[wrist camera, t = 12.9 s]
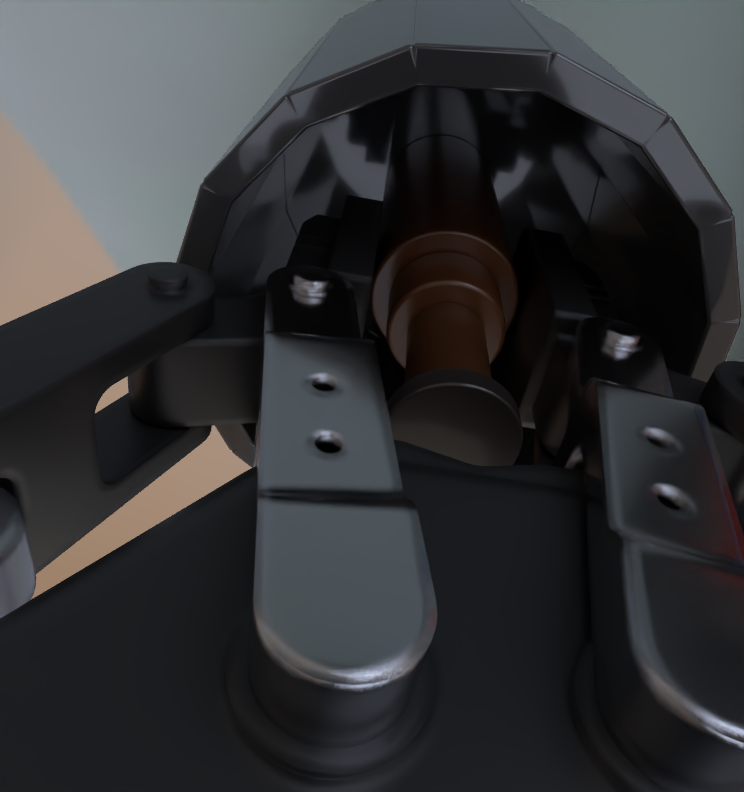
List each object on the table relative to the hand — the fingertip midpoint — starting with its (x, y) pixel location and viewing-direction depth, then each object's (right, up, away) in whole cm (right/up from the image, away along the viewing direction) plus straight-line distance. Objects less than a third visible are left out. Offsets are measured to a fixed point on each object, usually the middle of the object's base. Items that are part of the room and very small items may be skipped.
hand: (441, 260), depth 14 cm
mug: (0, +2, +5) cm, 5 cm away
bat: (0, +3, +4) cm, 4 cm away
